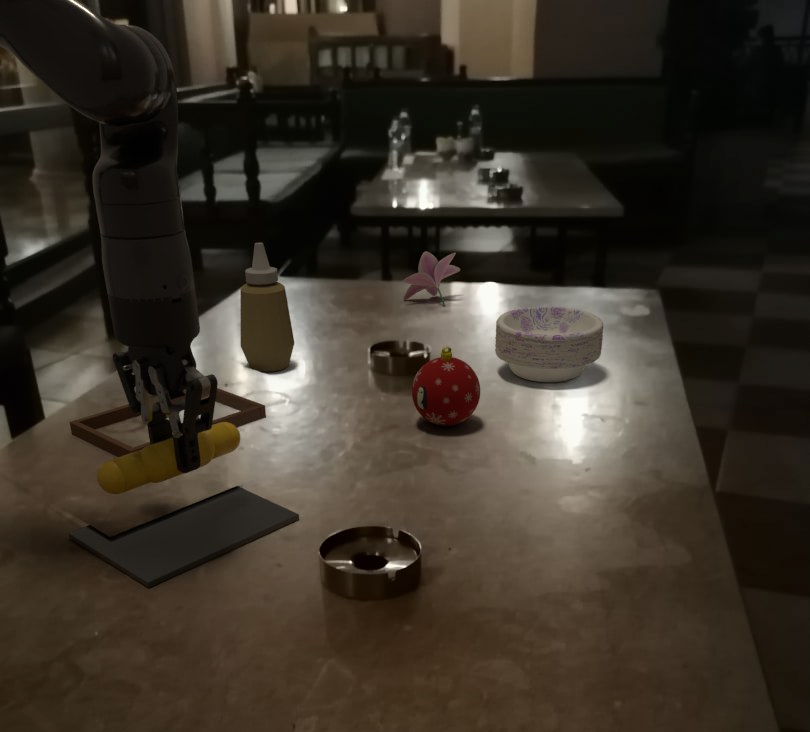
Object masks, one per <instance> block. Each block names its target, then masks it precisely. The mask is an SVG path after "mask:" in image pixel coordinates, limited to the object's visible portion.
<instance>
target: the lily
mask: <svg viewBox="0 0 810 732" xmlns="http://www.w3.org/2000/svg"><path fill="white" fill-rule="evenodd" d="M456 253H457V252H452V253H450V254H448V255H447V256H444V257H443V258H442V259H440V260H438V258H437V257H436V256H435V255H434V254H432V253H431V252H430V251H427V250H426V251H425V250H424V252H422V255H421V257H420V259H419V261H418V267H417V269H418V272H416V273H413V274H411V275H408V276H407V277H406V278H405V277H404V279H403V280H402V283H405V284H409V287H408V288H407V289H406V291H405V294H404V295H403V301H406V300H408V299H409V298H411V297H413V296H414V295H416V294H417V293H420V292H422V291H423V290H425V291H426V292H427V293H428V294H429V295H431V296H433V297H436V296H437V294H439V297H440V300H441V303H442V305H443V307H446V304H445V301H444V298H443V295H442V293H441V290H440V285H441V281H442V280H444V279H446V278H448V277H450V276H452V275H454V274H457V273H459V272H460V271H461V268H460V267H458V266H456V265H453V264H451V262H452V261H453V259H454V257H455V256H456Z"/></svg>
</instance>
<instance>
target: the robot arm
mask: <svg viewBox="0 0 810 732" xmlns="http://www.w3.org/2000/svg"><path fill="white" fill-rule="evenodd" d="M0 47H1V48H3V49H5V50H6V51H8V52H9V53H11V54H12V55H13V56H14V57H15V59H17V60H18V61H19V62H20V64H22V65H23V66H24V67H25V68H26V69H27V70H28V71H29V72H30V73H31V74H33V76H34V77H35V78H36V79H38V81H40V82H41V83H42V84H43V85H44V86H45V87H46V88H48V89H49V90H50V91H51V92H52V93H53V94H54V95H55V96H57V97H58V98H59V99H60V100H61V101H63V102H64V103H65V104H66V105H68V106H69V107H70V108H72V109H74V110H75V111H76V112H78V113H80V114H81V115H83V116H84V117H86V118H88V119H90V120H92V121H94V122H96V123H98V125H99V138H100V157H99V159H98V161H97V162H96V164H95V166H94V168H93V171H92V189H93V196H94V197H93V198H94V201H95V202H94V203H95V208H96V209H95V210H96V216H97V221H98V225H99V233H100V242H101V263H102V269H103V275H104V281H105V287H106V293H107V299H108V305H109V311H110V317H111V323H112V328H113V334H114V338H115V340H116V341H117V342H118V343H119V344H120V345H122V346H125V347H127V349H126V350H122V351H117V352H114V353H113V354H112V360H113V363H114V366H115V369H116V372H117V375H118V377H119V380H120V383H121V386H122V388H123V391H124V394H125V397H126V400H127V404H129V406H130V409H131V411H132V412H133V413H134V414H137V413H140V414H141V415H140V417H141V421H142V423H143V424H144V425H145V426H147V433H148V440H149V442H150V445H152V444H155V443H158V442H161V441H164V440H167V439H170V438H173V443H174V450H175V457H176V463H177V469H178V471H180V472H182V473H184V474H188V473H190V472H193V471H196V470H198V469H199V467H200V464H201V463H200V462H201V459H200V451H199V444H198V433H200V432H203V431H207V430H210V429H211V428H212V422H213V420H214V415H215V414H214V413H215V407H216V402H215V400H216V393H217V388H218V385H219V383H218V379H217V376H216V375H214V374H212V373H211V374H207V375H204V374H203V373H201V371H200V370H198V369H197V362H196V358H195V357H194V354H193V350H192V346H191V345H192V343H193V341H194V339H196V338H197V337H198V335H200V332H201V326H200V317H199V309H198V308H199V307H198V302H197V301H198V299H197V293H196V285H195V277H194V269H193V268H194V267H193V261H192V256H191V254H192V253H191V250H190V246H189V242H188V238H187V233H186V229H185V220H184V211H183V203H182V197H181V196H182V195H181V189H180V184H179V179H178V170H177V169H178V150H179V98H178V97H179V96H178V88H177V80H176V76H175V70H174V67H173V64H172V62H171V58H170V57H169V54H168V52H167V50H166V48H165V46H164V45H163V44H162V43H161V42H160V40H159V39H158V38H157V37H155V36H154V35H153V34H152V33H151V32H149V31H147V30H146V29H145V28H142V27H139V26H137V25H132V24H116V23H113V22H111V21H110V20H108V19H107V18H105V17H103V16H102V15H101V14H99V13H98V12H96V11H95V10H93V9H92V8H91V7H89V6H88V5H86V4H85V3H84V2H82V1H81V0H0ZM185 394H186V397H185V399H183V400H181V401H178V402H174V403H172V402H171V400H172V399H176V398H179V397H182V396H185ZM181 412H183V416H182V421H181V417H180V413H181ZM173 435H174V436H173ZM200 468H201V467H200Z"/></svg>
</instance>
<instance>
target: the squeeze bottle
mask: <svg viewBox="0 0 810 732" xmlns="http://www.w3.org/2000/svg"><path fill="white" fill-rule="evenodd" d="M251 265H252V266H251V267H248V268H246V269H245V270H244V275H245V281H246V282H245V283H244V284H243V285H242V286H241V287H240V348H241V350H242V353H243V355H244V357H245V360H246V361H247V364H248V366H249V368H250V369H251V370H253V371H257V372H276V371H282V370H284V369H286V368H288V367H289V366H290V363H291V358H292V355H293V352H294V351H293V350H294V346H295V338H294V332H293V326H292V320H291V315H290V309H289V303H288V297H287V291H286V287H285V285H284V284H283V283H282V282H279V274H278V268H277V267H274V266H270V263H269V260H268V256H267V253H266V248H265V245H264V243H263V242H255V243H254V247H253V256H252V263H251Z"/></svg>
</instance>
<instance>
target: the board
mask: <svg viewBox="0 0 810 732" xmlns="http://www.w3.org/2000/svg"><path fill="white" fill-rule="evenodd" d="M298 520H300V514H299V513H297V512H295V511H292V510H291V509H288V508H287V507H284V506H282V505H280V504H278V503H275V502H273V501H271V500H269V499H266V498H264V497H262V496H261V495H258V494H256V493H253V492H252V491H249V490H247V489H245V488H243V487H241V486H238V485H236V486H233V487H230V488H228V489H225V490H223V491H220V492H218V493H215V494H213V495H211V496H208V497H205V498H202V499H200V500H198V501H196V502H193V503H190V504H188V505H185V506H183V507H181V508H178V509H176V510H174V511H171V512H168V513H166V514H163V515H161V516H159V517H156V518H154V519H151V520H149V521H146V522H143V523H141V524H137V525H136V526H133V527H131V528H128V529H126V530H124V531H121V532H119V533H116V534H113V535H112V536H110V535H108V534H106V533H105V532H103V531H101V530H99V529H98V528H96V527H95V526H93V525H91V524H88V525H87V526H84V527H81V528H79V529H75V530H73V531H71V532H69V533H68V538H69V539H70V540H72V541H73V542H75V543H76V544H77V545H79V546H81V547H83V548H84V549H86V550H87V551H89V552H90V553H92V554H94V555H95V556H96V557H98V558H99V559H101V560H103V561H105V562H107V564H109V565H111V566H113V567H114V568H116V569H118V570H119V571H121V572H122V573H124V574H125V575H127V576H129V577H130V578H132V579H133V580H135V581H137V582H138V583H140V584H141V585H142V586H145V587H146V588H148V589H149V588H153V587H154V586H156V585H158V584H160V583H163V582H165V581H167V580H170V579H172V578H174V577H176V576H178V575H180V574H182V573H185V572H187V571H189V570H191V569H193V568H196V567H198V566H200V565H202V564H205V563H207V562H208V561H211V560H213V559H215V558H217V557H220V556H222V555H224V554H226V553H229V552H231V551H233V550H235V549H237V548H239V547H242V546H244V545H246V544H248V543H250V542H252V541H254V540H256V539H259V538H261V537H263V536H265V535H268V534H270V533H271V532H272V533H273V532H274V531H277V530H278V529H281V528H283V527H286V526H287V525H290V524H292V523H294V522H296V521H298Z"/></svg>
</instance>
